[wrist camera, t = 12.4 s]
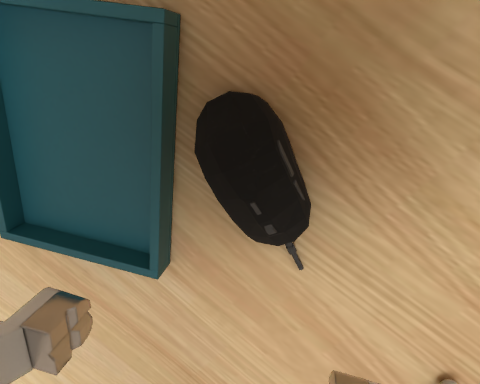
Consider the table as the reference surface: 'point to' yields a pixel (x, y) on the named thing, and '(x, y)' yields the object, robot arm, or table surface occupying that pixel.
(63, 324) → the robot arm
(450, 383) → the frying pan
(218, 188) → the gaming mouse
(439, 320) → the table surface
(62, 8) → the tray
